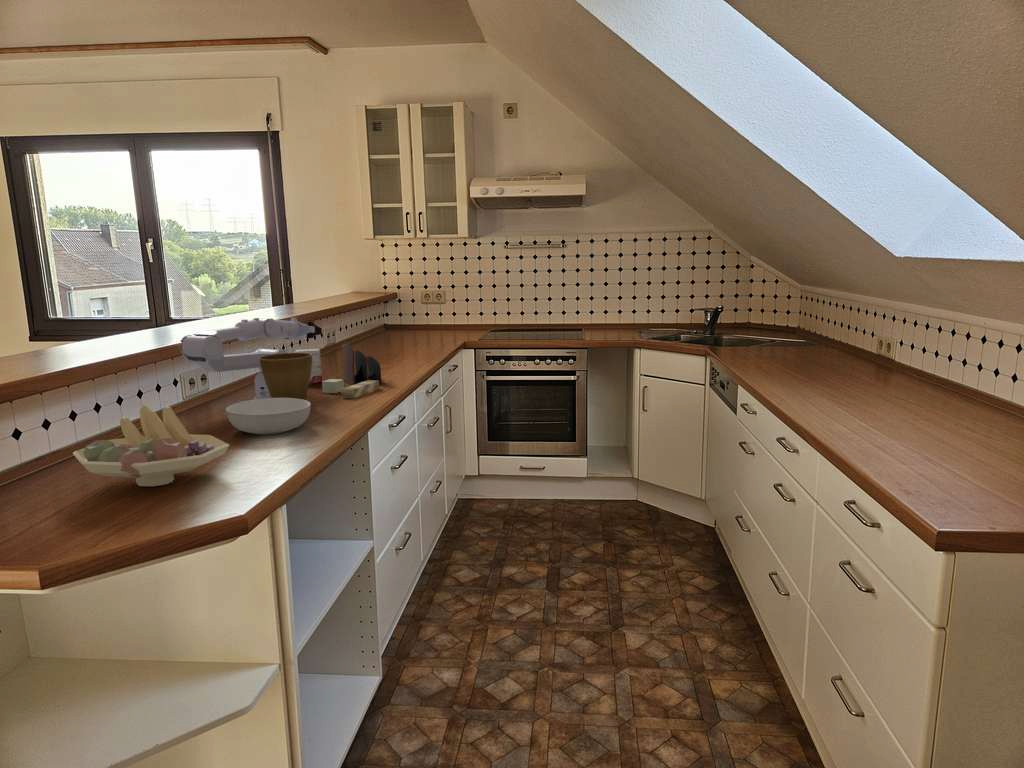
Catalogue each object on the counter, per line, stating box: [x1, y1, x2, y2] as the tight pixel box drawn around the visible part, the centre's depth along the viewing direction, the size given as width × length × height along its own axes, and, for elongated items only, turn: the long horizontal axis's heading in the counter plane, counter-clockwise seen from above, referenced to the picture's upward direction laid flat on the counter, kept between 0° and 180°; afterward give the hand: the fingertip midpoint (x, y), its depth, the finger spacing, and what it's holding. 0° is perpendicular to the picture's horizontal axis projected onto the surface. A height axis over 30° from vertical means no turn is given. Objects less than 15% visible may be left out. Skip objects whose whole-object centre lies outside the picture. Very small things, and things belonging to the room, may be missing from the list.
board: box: [340, 380, 380, 399], centre depth 230 cm, size 16×4×3 cm, turn 159°
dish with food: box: [72, 404, 230, 487], centre depth 142 cm, size 28×28×14 cm
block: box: [321, 378, 345, 394], centre depth 233 cm, size 5×5×4 cm
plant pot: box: [259, 352, 312, 400], centre depth 208 cm, size 15×15×16 cm
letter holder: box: [341, 343, 383, 387], centre depth 249 cm, size 10×20×14 cm, turn 23°
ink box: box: [293, 348, 323, 384], centre depth 250 cm, size 9×5×12 cm, turn 103°
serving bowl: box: [225, 398, 312, 436], centre depth 183 cm, size 21×21×7 cm
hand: (311, 331), depth 241 cm, fingers open, 7 cm apart
